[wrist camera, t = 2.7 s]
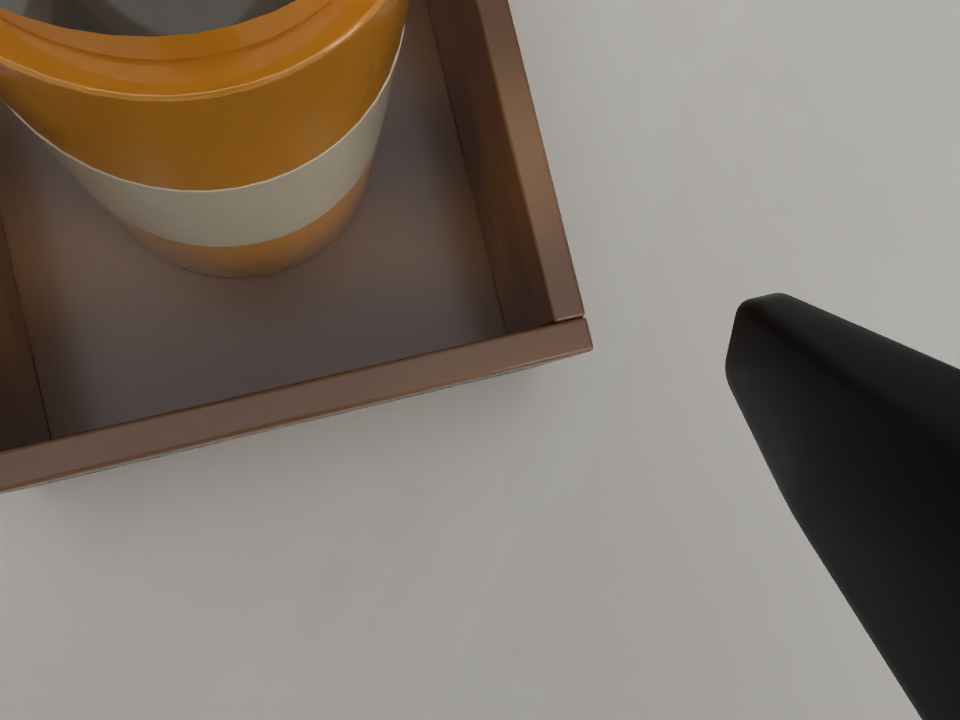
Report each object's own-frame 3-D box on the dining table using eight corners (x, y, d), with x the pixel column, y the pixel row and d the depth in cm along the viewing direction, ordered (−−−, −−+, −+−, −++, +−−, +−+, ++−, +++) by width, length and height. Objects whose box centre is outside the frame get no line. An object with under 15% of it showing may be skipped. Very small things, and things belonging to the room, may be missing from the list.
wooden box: (538, 366, 22) (595, 349, 17) (32, 487, 19) (-50, 503, 15) (413, -147, 22) (438, -288, 18) (-97, -92, 20) (-212, -240, 15)
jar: (401, 249, 21) (559, -72, 7) (121, 305, 19) (-287, 38, 6) (339, -9, 21) (386, -763, 8) (58, 30, 20) (-466, -800, 6)
